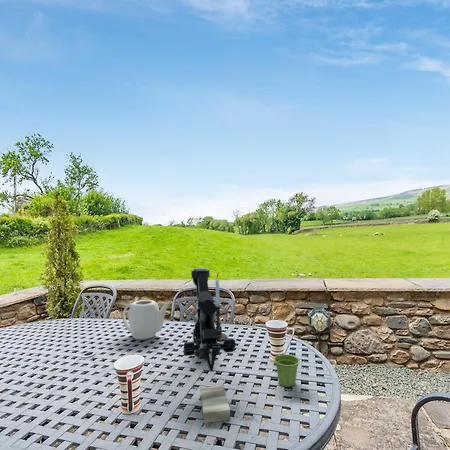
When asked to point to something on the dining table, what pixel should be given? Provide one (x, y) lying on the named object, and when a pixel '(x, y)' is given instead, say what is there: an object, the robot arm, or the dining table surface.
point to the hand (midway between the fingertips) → (211, 371)
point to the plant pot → (286, 369)
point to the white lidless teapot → (144, 318)
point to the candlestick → (219, 310)
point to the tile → (214, 404)
